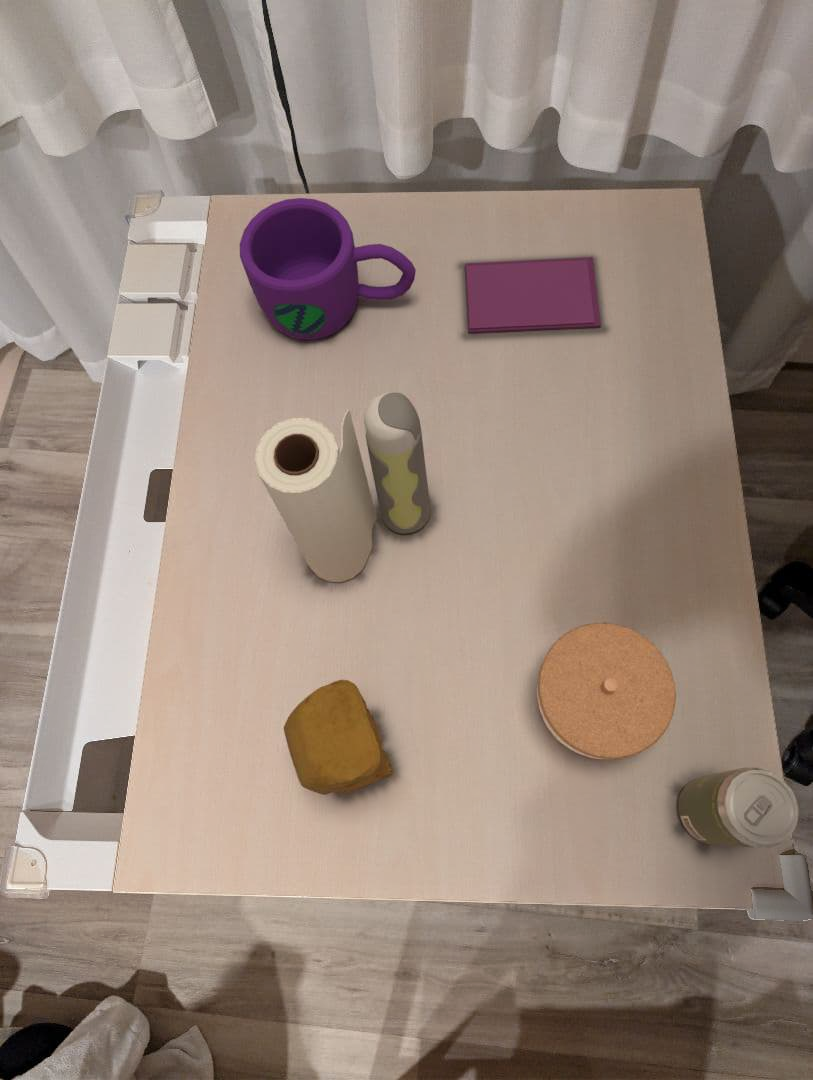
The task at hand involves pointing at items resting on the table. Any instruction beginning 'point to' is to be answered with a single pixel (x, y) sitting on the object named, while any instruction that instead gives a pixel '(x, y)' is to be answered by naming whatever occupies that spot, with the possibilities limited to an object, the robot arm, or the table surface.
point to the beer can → (739, 809)
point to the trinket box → (606, 691)
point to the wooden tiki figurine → (335, 741)
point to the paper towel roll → (320, 493)
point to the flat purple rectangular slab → (531, 295)
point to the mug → (311, 267)
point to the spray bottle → (397, 461)
